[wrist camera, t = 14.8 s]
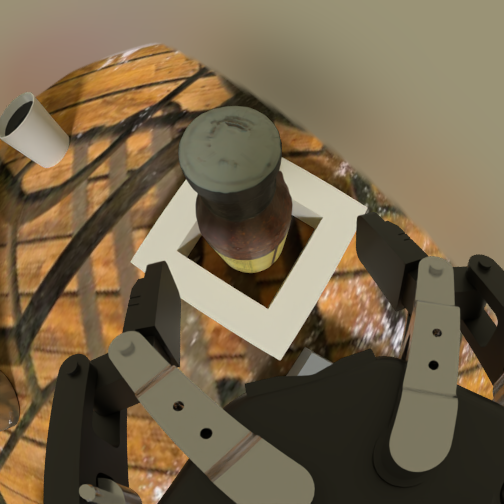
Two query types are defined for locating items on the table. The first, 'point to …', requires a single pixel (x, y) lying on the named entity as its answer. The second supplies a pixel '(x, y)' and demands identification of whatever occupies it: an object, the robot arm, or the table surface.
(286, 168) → the socket collar
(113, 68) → the table surface
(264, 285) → the table surface
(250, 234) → the sauce bottle
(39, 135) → the white coffee cup
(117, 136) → the table surface
